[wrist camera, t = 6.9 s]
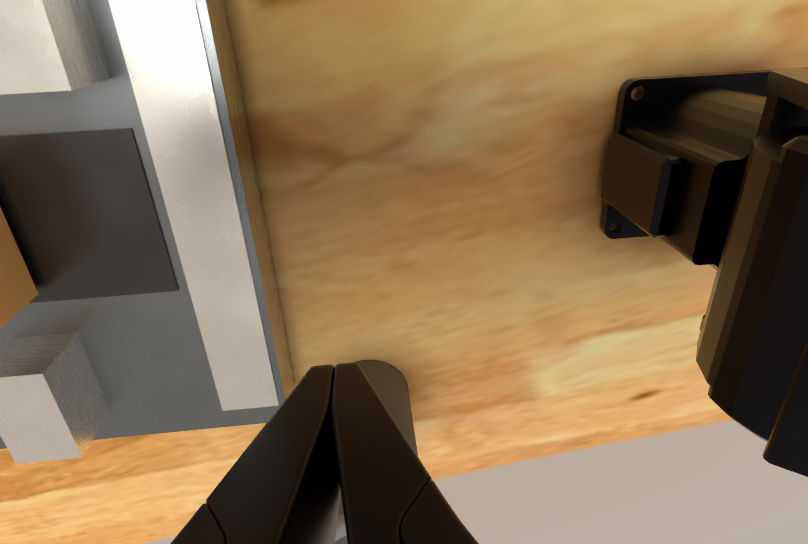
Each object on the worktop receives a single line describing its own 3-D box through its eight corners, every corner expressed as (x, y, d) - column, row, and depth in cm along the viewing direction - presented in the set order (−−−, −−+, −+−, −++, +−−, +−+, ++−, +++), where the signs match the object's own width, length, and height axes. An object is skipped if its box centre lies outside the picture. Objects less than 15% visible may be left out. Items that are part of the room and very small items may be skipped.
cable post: (412, 350, 25) (440, 515, 17) (415, 422, 27) (442, 597, 19) (316, 359, 24) (299, 531, 16) (327, 430, 26) (316, 612, 18)
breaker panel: (200, -129, 15) (139, -184, 11) (295, 383, 25) (282, 465, 20) (-257, -114, 15) (-518, -166, 10) (18, 409, 24) (-58, 500, 20)
